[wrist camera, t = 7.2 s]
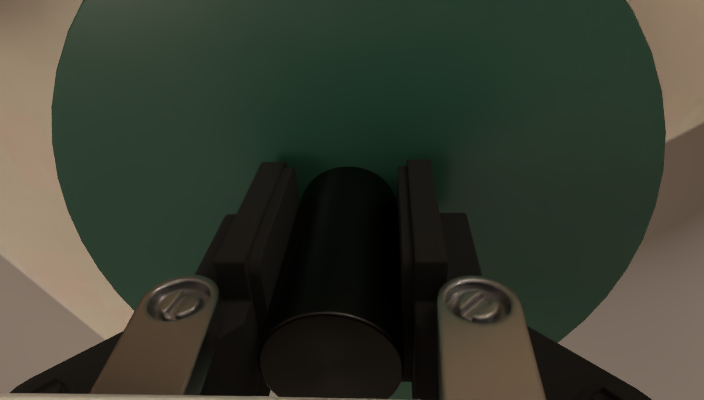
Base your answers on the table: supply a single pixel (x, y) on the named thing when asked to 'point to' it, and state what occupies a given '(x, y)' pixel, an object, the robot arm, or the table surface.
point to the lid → (362, 154)
